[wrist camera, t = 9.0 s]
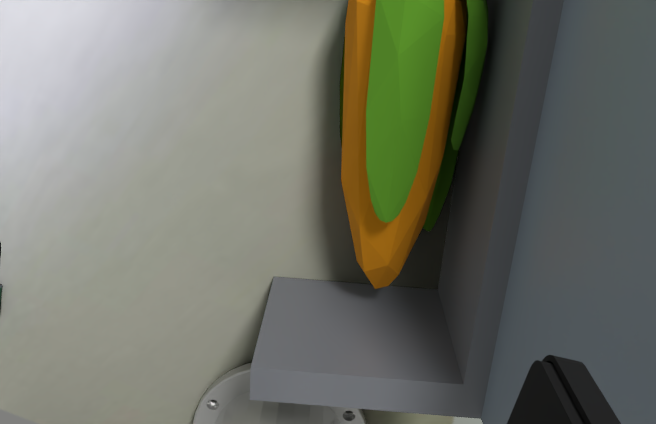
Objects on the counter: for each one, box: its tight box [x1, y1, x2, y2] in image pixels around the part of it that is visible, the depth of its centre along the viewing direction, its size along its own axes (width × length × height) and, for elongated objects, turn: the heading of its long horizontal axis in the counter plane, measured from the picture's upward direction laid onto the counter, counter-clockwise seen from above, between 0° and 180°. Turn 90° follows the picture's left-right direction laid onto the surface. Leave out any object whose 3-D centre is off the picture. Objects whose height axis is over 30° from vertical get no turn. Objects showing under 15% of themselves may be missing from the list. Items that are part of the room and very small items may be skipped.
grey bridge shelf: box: [250, 0, 564, 418], centre depth 31 cm, size 31×12×10 cm, turn 176°
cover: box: [481, 0, 656, 424], centre depth 21 cm, size 31×12×1 cm
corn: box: [340, 0, 488, 289], centre depth 33 cm, size 7×8×20 cm
